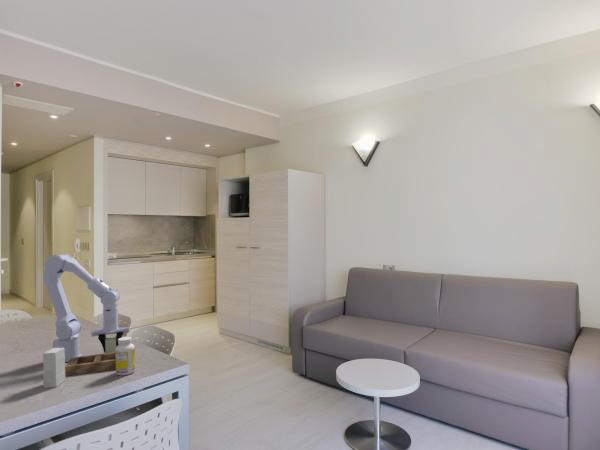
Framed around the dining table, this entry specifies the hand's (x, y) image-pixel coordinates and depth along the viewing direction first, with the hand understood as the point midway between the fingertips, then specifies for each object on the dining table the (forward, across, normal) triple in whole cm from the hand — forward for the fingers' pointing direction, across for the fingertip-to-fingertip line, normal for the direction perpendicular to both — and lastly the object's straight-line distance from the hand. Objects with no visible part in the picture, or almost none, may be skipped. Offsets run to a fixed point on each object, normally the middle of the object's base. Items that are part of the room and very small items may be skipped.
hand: (111, 351), depth 162 cm
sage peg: (+2, 0, 0) cm, 2 cm away
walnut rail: (+2, -4, -11) cm, 12 cm away
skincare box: (+3, -16, -24) cm, 29 cm away
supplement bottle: (+3, +6, -22) cm, 23 cm away
